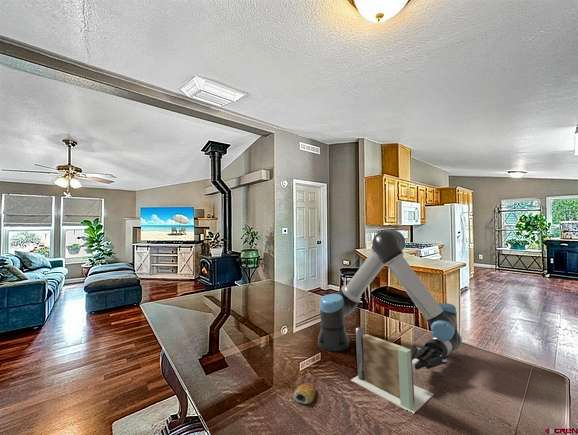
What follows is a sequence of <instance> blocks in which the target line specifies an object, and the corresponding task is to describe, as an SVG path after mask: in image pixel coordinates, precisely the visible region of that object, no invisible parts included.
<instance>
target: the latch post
mask: <svg viewBox="0 0 578 435" xmlns="http://www.w3.org/2000/svg"><path fill="white" fill-rule="evenodd" d="M403 347H404V346H402V347H401V348H399V349H398V367H399V385H400V404H401V406H403V407H405V408H407V409H409V410H410V409H411V408H412V407H413V390H412V372H411V354H410V350H408V349H409V348H408V349H406V348H407V347H405V348H403Z"/></svg>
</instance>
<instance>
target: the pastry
mask: <svg viewBox="0 0 578 435" xmlns="http://www.w3.org/2000/svg"><path fill="white" fill-rule="evenodd" d="M316 392H317V391H316V386H315V384H312V383H311V382H306V383H303V384H300V385H298V387H297V388H295V390H294V393H293V394H294V395H292V399H293V401H294V402H296V403H297V404H298V403H299V404H303V405H310V404H311V403H312V402H313V401H314V399H315V396H316Z"/></svg>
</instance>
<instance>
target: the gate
mask: <svg viewBox="0 0 578 435" xmlns="http://www.w3.org/2000/svg"><path fill="white" fill-rule="evenodd" d="M401 347H403V348H406V349H408V350H410V354H411V372H412V390H413V403H414V402H415V401H414V385H415V383H414V372H413V365H412V350H413V349H411V348H408V347H406V346H402V345H399V344H396V343H393V342H392V341H391V342H390V341H388V340H384V339H383V338H382V339H381V338H379V337H376V336H373V335H370V334H368V333H363V354H364V374H365V380H366V381H368V382H370V383H372V384H374V385H376V386H378V387H380V388H382V389H384V390H386V391H388V392H390V393H392V394H394V395H396V396H398V397H400V385H399V367H398V349H399V348H401Z"/></svg>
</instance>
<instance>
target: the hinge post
mask: <svg viewBox="0 0 578 435" xmlns="http://www.w3.org/2000/svg"><path fill="white" fill-rule="evenodd" d="M363 334H364V328H363V327H361V326H356V327H355V343H356V344H355V345H356V346H355V347H356V364H357V376H358V379H360V380H365V374H364V354H363Z"/></svg>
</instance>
